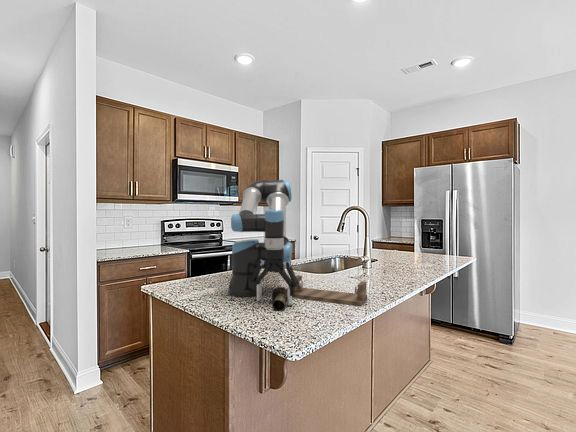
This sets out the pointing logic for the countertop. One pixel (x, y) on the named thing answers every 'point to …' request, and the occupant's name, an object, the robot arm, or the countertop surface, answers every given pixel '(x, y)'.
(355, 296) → the shaft stand
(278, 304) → the lumpy brown club
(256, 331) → the countertop surface
